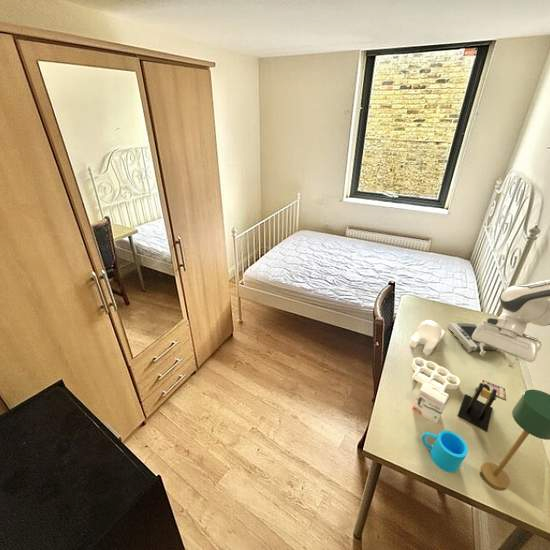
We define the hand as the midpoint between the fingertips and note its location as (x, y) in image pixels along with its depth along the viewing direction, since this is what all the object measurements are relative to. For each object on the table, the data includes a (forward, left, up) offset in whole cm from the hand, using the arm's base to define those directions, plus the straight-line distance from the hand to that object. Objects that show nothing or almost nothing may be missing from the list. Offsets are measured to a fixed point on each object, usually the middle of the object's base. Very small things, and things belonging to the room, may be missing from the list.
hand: (495, 360), depth 112 cm
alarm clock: (+1, -29, -13) cm, 32 cm away
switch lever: (+4, +14, -6) cm, 16 cm away
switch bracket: (+5, +18, -13) cm, 22 cm away
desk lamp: (+2, +40, -13) cm, 42 cm away
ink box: (+21, +26, -13) cm, 36 cm away
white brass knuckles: (+19, +7, -13) cm, 24 cm away
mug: (+17, +40, -13) cm, 45 cm away
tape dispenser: (+22, -17, -13) cm, 31 cm away
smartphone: (-3, -2, -13) cm, 13 cm away
